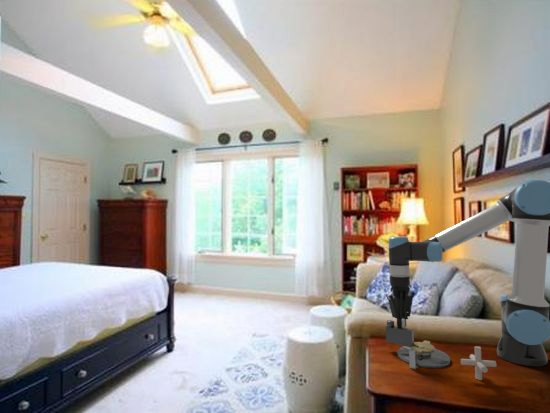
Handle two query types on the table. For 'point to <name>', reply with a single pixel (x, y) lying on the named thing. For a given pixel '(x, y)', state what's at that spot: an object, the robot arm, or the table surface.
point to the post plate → (423, 358)
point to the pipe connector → (478, 363)
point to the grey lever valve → (406, 338)
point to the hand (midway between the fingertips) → (402, 335)
